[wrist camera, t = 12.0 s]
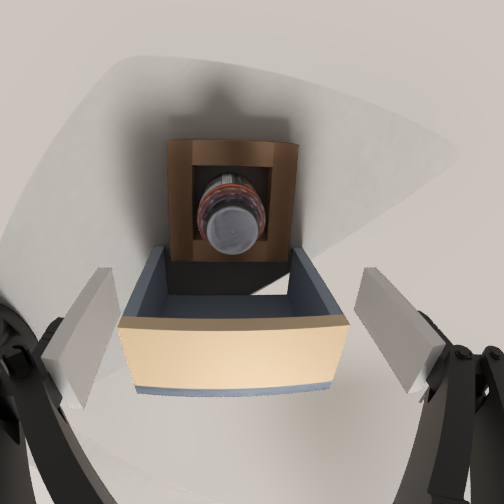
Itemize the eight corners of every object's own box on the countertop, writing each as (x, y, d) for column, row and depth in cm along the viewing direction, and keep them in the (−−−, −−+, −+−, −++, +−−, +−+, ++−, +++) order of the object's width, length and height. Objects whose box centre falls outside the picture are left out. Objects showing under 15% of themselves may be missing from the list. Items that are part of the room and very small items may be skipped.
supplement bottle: (265, 204, 33) (286, 242, 23) (221, 232, 34) (222, 280, 24) (237, 160, 31) (245, 178, 20) (192, 190, 32) (178, 223, 21)
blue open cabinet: (160, 302, 37) (137, 393, 23) (154, 246, 34) (117, 327, 20) (294, 301, 39) (329, 388, 25) (302, 247, 36) (350, 324, 22)
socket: (174, 250, 34) (171, 261, 32) (172, 139, 29) (167, 141, 26) (282, 251, 36) (287, 261, 33) (291, 143, 30) (298, 144, 28)
